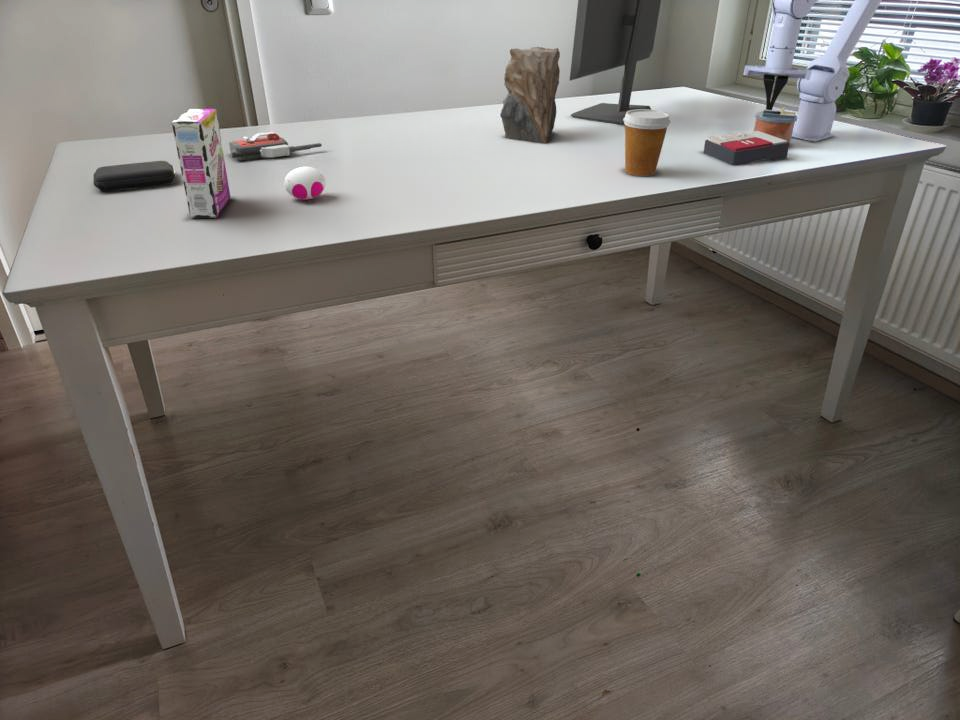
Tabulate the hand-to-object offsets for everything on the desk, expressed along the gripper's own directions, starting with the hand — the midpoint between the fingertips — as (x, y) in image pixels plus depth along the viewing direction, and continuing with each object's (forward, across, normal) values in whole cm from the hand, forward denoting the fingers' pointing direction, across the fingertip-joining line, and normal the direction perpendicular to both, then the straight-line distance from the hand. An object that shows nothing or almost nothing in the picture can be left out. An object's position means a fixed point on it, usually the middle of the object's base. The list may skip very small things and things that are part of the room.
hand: (768, 109), depth 167 cm
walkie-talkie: (+8, -103, -53) cm, 116 cm away
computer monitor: (+8, -40, +15) cm, 44 cm away
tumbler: (+8, +2, 0) cm, 8 cm away
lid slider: (+1, +4, 0) cm, 4 cm away
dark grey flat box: (+8, -3, -14) cm, 16 cm away
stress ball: (+8, -79, -78) cm, 111 cm away
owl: (+8, -54, -16) cm, 57 cm away
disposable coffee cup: (+8, -24, -36) cm, 44 cm away
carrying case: (+8, -116, -82) cm, 142 cm away
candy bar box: (+8, -92, -88) cm, 128 cm away
